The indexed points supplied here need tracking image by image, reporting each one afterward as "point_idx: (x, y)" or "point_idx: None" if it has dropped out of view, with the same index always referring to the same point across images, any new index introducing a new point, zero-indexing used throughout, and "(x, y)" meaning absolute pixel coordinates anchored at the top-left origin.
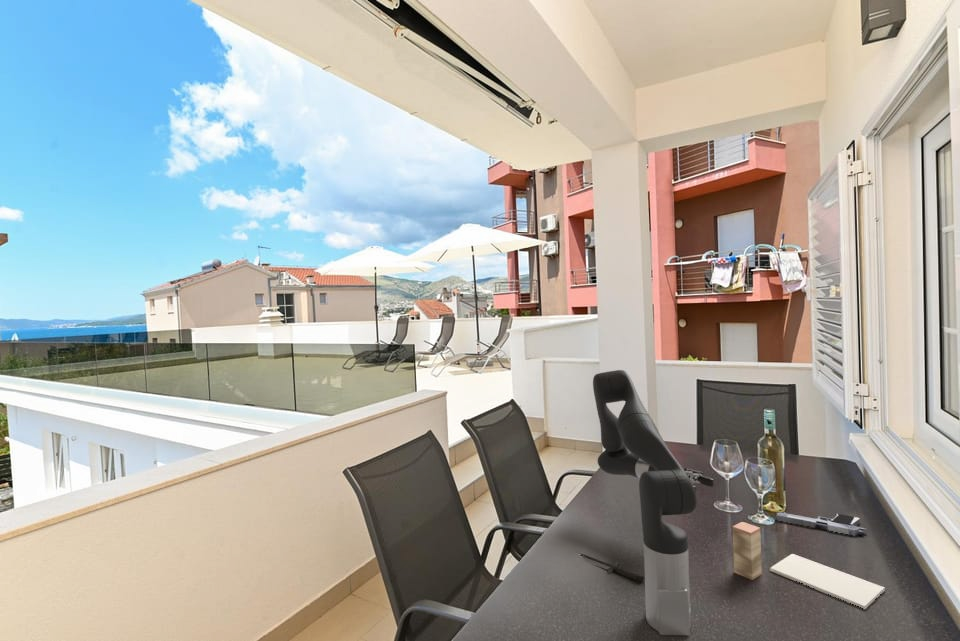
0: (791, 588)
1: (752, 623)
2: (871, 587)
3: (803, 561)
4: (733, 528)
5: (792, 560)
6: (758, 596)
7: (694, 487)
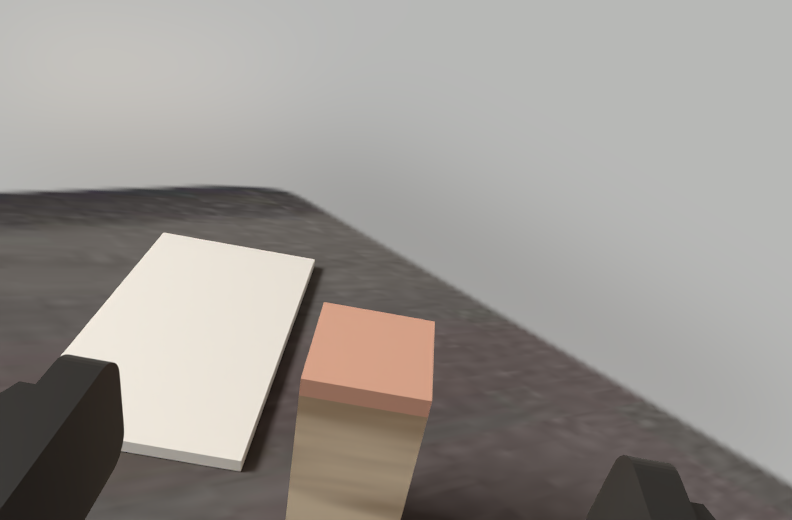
0: None
1: (655, 436)
2: (185, 249)
3: None
4: (429, 406)
5: None
6: (491, 459)
7: (659, 463)
